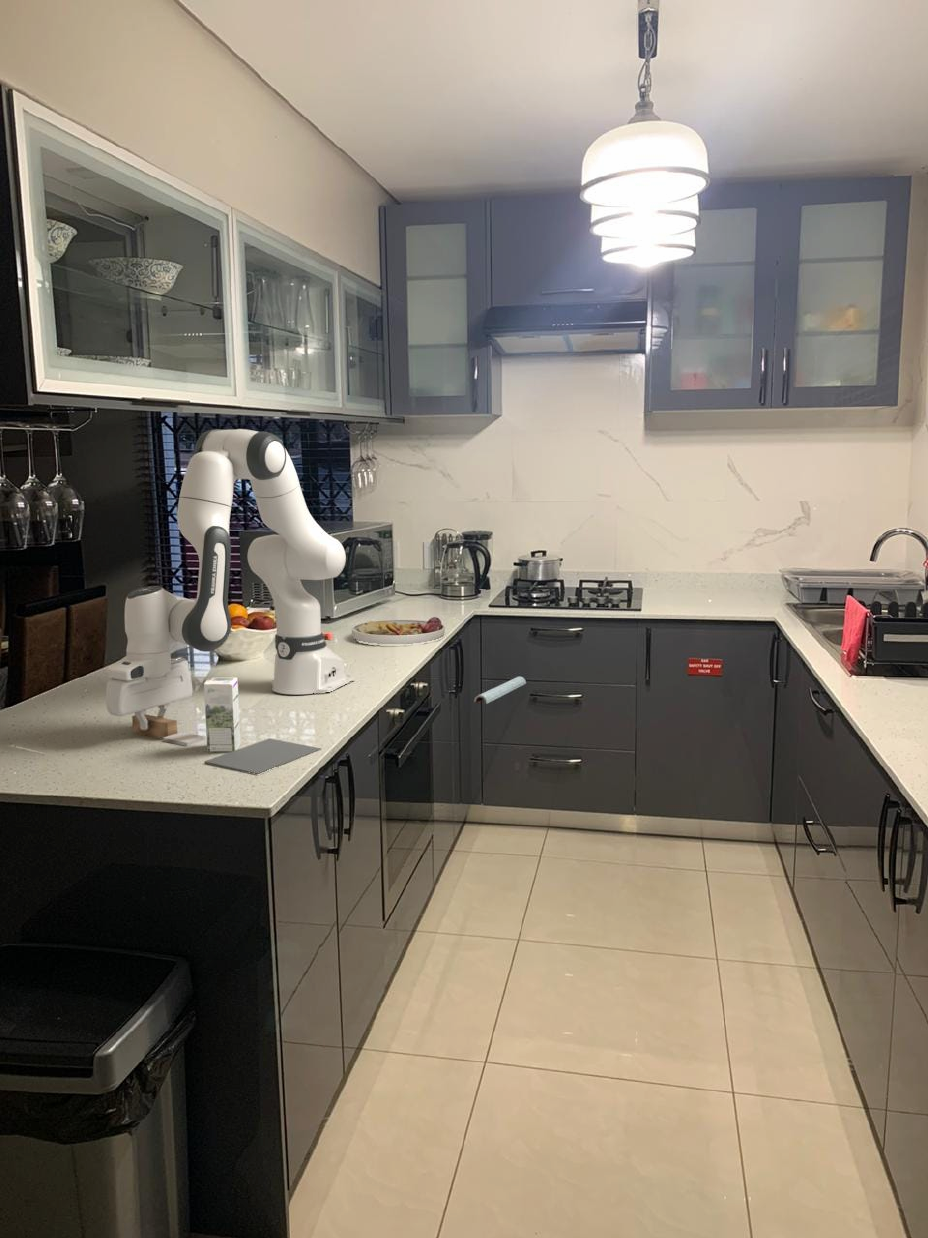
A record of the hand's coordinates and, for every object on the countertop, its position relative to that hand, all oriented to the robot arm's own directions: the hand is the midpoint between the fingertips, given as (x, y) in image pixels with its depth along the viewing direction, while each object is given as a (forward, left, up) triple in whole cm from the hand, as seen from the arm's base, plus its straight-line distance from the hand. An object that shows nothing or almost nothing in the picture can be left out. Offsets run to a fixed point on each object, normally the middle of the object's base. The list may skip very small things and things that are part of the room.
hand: (153, 727), depth 204 cm
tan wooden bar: (0, +5, -2) cm, 5 cm away
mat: (0, +32, -2) cm, 32 cm away
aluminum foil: (-66, +50, -2) cm, 83 cm away
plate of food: (-114, -17, -2) cm, 115 cm away
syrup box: (0, +21, -2) cm, 21 cm away
